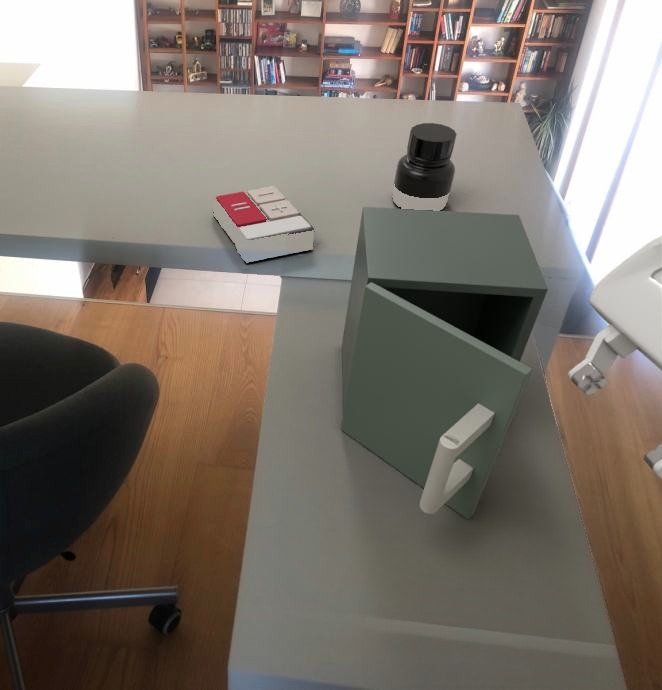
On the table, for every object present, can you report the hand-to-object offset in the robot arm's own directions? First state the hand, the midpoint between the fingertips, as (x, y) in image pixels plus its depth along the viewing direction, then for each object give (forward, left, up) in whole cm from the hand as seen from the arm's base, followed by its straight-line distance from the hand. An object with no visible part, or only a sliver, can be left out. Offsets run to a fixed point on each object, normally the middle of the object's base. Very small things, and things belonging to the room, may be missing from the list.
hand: (612, 425), depth 46 cm
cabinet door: (+11, +11, -23) cm, 27 cm away
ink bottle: (+70, +2, -23) cm, 73 cm away
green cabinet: (+26, +7, -23) cm, 35 cm away
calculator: (+58, +27, -23) cm, 68 cm away
